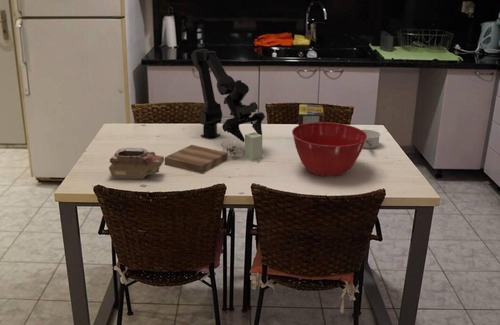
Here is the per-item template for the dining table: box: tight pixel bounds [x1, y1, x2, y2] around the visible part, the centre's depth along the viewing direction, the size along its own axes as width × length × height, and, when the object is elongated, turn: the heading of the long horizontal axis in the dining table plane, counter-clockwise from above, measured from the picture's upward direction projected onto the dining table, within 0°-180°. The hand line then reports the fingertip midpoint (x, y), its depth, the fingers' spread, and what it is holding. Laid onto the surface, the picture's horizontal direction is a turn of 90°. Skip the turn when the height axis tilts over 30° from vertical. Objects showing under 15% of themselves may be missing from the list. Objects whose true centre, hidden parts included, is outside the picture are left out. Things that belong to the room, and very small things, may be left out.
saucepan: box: [361, 129, 381, 150], centre depth 251 cm, size 12×20×6 cm, turn 175°
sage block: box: [244, 131, 263, 162], centre depth 238 cm, size 5×5×10 cm
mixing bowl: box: [291, 121, 367, 178], centre depth 225 cm, size 28×28×15 cm
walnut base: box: [164, 144, 229, 174], centre depth 234 cm, size 18×18×3 cm
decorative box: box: [108, 147, 165, 179], centre depth 220 cm, size 13×20×10 cm, turn 82°
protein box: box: [297, 104, 324, 126], centre depth 256 cm, size 10×15×16 cm
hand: (252, 139), depth 237 cm, fingers open, 9 cm apart
